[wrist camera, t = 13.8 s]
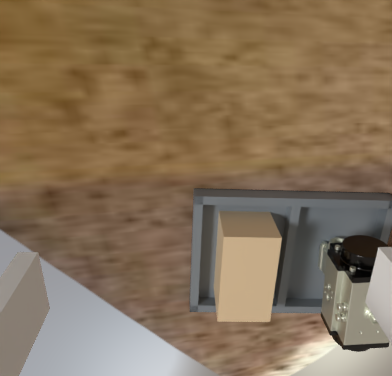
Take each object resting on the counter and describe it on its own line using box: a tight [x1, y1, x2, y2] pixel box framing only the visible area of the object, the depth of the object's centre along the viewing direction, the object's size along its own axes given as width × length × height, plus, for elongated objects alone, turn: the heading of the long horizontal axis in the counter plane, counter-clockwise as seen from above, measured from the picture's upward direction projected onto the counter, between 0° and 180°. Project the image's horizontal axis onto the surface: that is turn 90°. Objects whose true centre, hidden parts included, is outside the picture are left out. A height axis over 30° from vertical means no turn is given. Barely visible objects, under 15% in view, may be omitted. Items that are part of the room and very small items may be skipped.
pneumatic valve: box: [318, 235, 390, 352], centre depth 41 cm, size 6×12×12 cm, turn 3°
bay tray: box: [190, 189, 392, 322], centre depth 44 cm, size 16×23×7 cm
